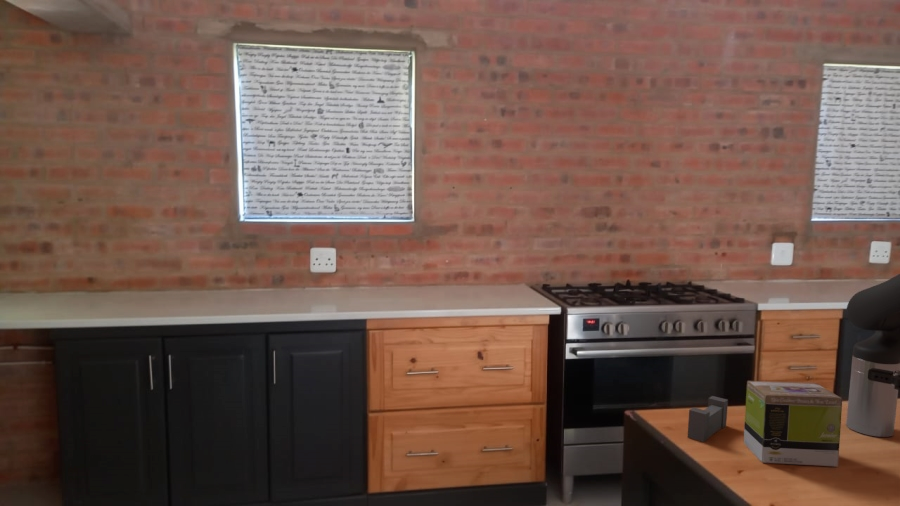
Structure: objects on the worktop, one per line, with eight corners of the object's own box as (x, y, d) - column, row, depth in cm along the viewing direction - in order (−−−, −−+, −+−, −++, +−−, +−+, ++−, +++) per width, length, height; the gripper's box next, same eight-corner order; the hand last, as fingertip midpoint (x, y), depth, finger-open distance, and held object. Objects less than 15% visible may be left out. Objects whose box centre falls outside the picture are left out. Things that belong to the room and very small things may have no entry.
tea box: (813, 447, 129) (819, 382, 127) (838, 468, 119) (845, 398, 117) (741, 443, 130) (746, 378, 129) (760, 464, 120) (766, 394, 119)
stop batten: (710, 421, 142) (712, 395, 142) (726, 425, 140) (727, 399, 139) (687, 437, 133) (689, 409, 132) (703, 442, 130) (705, 414, 130)
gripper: (993, 367, 106) (876, 348, 118) (990, 383, 97) (863, 360, 109) (989, 408, 107) (873, 385, 119) (985, 427, 97) (859, 400, 109)
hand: (868, 373), depth 114 cm, fingers closed
